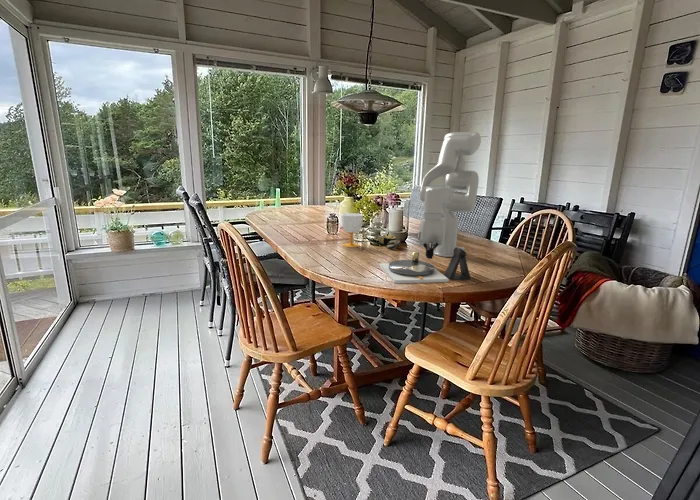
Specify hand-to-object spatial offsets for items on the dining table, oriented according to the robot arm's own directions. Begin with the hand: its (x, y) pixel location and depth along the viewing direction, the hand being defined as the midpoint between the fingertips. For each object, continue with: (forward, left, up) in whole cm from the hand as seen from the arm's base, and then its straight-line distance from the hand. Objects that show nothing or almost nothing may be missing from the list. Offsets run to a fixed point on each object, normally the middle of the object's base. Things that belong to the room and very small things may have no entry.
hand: (429, 258), depth 168 cm
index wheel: (+10, +7, -3) cm, 13 cm away
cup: (+27, -45, -5) cm, 53 cm away
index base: (+10, +7, -4) cm, 13 cm away
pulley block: (+7, -48, -5) cm, 48 cm away
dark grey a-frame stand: (-7, +15, -5) cm, 17 cm away
